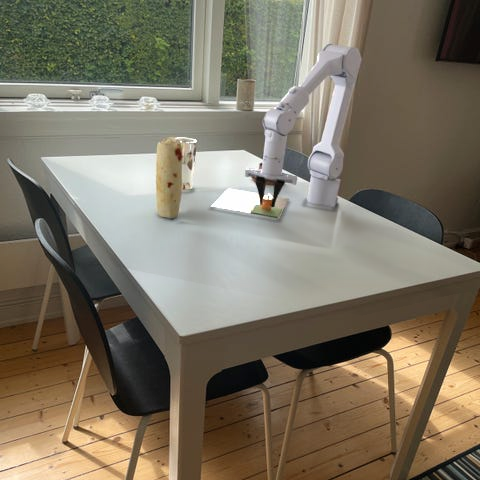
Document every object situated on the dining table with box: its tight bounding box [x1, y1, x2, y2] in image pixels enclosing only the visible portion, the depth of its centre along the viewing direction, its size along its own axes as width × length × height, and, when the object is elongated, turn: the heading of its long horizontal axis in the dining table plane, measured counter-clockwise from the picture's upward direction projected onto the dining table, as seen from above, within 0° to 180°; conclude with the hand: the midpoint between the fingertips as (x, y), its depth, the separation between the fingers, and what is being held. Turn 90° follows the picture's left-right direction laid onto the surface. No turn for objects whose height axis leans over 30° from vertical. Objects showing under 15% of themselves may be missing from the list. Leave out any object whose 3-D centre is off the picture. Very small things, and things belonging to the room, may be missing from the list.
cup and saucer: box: [250, 162, 276, 186], centre depth 167 cm, size 12×12×6 cm
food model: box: [155, 136, 183, 220], centre depth 127 cm, size 10×7×20 cm
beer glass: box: [175, 137, 197, 190], centre depth 149 cm, size 7×7×15 cm
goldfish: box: [261, 193, 273, 211], centre depth 139 cm, size 6×3×4 cm, turn 167°
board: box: [210, 188, 290, 219], centre depth 146 cm, size 20×20×1 cm
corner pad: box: [249, 204, 282, 218], centre depth 140 cm, size 8×8×1 cm
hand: (267, 205), depth 139 cm, fingers closed on goldfish, 3 cm apart
